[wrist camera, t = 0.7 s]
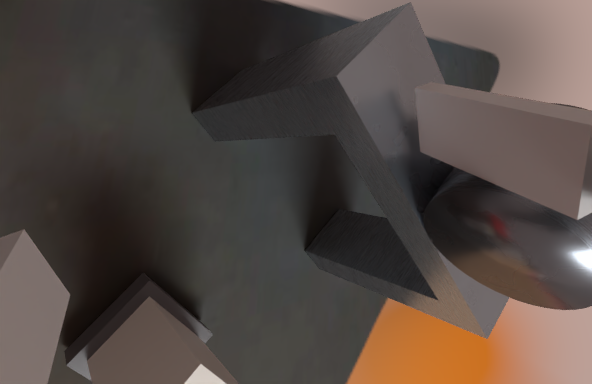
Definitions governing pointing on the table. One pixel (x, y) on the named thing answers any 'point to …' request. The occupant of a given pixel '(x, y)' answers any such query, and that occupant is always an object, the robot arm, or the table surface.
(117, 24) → the table surface
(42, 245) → the table surface
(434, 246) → the grey metal arch
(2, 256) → the robot arm
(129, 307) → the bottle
